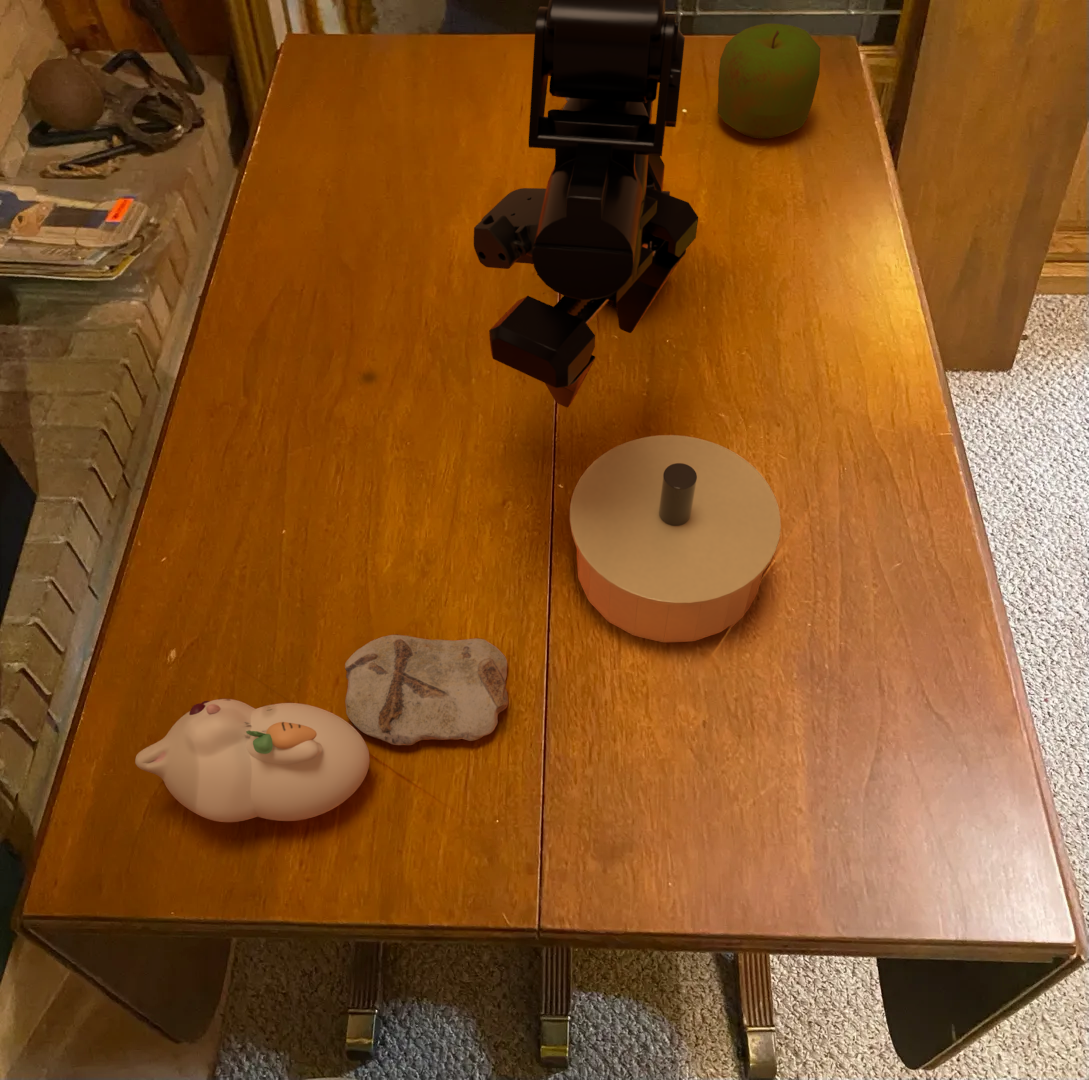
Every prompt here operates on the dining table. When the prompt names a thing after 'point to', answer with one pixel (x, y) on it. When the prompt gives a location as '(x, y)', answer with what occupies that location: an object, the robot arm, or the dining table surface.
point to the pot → (663, 610)
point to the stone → (426, 689)
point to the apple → (768, 80)
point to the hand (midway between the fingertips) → (595, 366)
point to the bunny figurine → (258, 761)
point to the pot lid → (675, 520)
